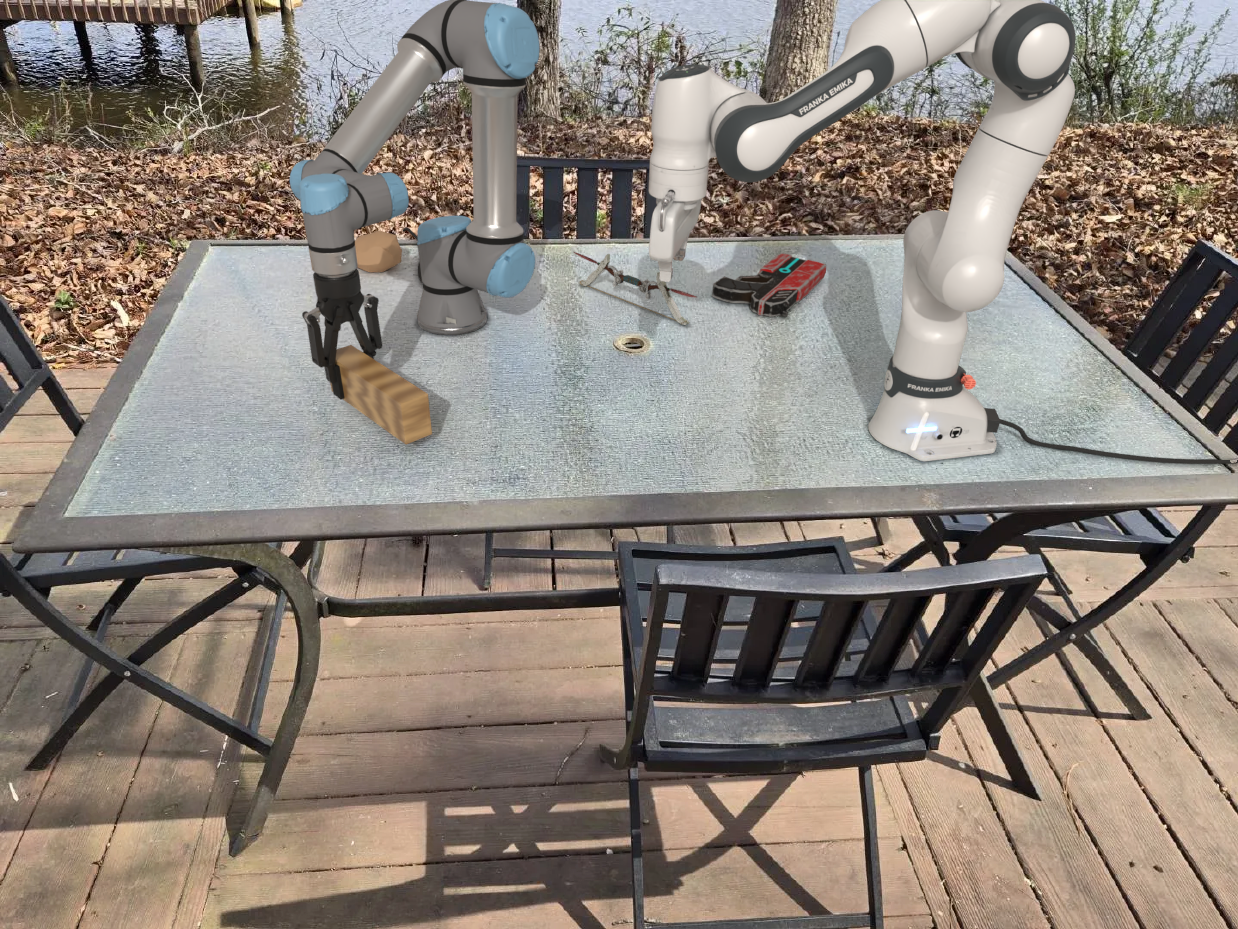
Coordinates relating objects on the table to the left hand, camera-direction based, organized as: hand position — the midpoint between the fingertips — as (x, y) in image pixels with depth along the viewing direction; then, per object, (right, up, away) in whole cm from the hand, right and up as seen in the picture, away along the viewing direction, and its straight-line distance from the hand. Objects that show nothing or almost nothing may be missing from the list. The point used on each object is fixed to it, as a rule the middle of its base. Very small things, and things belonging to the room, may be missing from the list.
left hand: (353, 390), depth 161 cm
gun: (+86, +29, +55) cm, 106 cm away
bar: (+6, -4, -5) cm, 9 cm away
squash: (-16, +36, +61) cm, 73 cm away
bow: (+52, +24, +46) cm, 74 cm away
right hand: (+57, +18, -21) cm, 64 cm away
